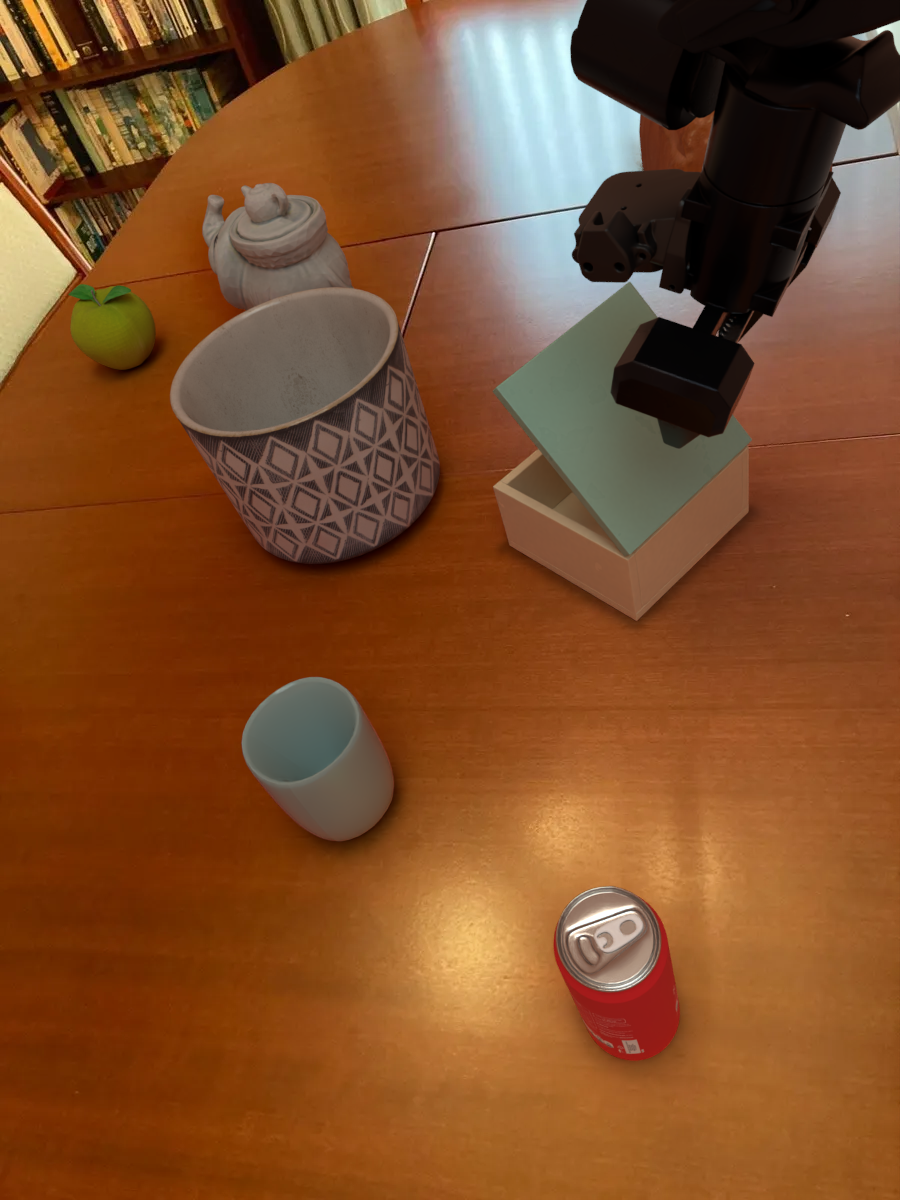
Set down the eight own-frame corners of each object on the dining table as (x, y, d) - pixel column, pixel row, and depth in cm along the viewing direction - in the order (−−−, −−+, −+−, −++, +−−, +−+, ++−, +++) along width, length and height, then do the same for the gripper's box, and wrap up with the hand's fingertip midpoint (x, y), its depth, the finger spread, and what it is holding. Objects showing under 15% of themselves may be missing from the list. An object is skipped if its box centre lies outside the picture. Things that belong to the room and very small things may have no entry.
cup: (341, 880, 58) (283, 810, 50) (279, 808, 63) (218, 735, 55) (429, 799, 60) (385, 721, 53) (362, 735, 65) (314, 655, 57)
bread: (778, 128, 108) (782, -10, 97) (837, 223, 92) (850, 70, 81) (637, 164, 111) (625, 34, 100) (671, 262, 95) (661, 119, 84)
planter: (481, 443, 83) (436, 287, 71) (394, 597, 73) (324, 445, 61) (314, 427, 91) (249, 285, 79) (215, 563, 81) (123, 424, 69)
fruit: (129, 337, 115) (87, 267, 107) (182, 341, 110) (142, 269, 103) (85, 381, 110) (38, 311, 103) (138, 387, 106) (92, 315, 98)
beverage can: (568, 992, 50) (530, 914, 41) (648, 948, 50) (627, 861, 42) (615, 1084, 46) (585, 1019, 38) (700, 1036, 47) (690, 961, 38)
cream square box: (509, 545, 74) (492, 486, 69) (616, 451, 78) (607, 389, 73) (636, 621, 65) (627, 560, 60) (749, 511, 69) (749, 446, 64)
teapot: (247, 321, 110) (176, 171, 96) (362, 283, 109) (306, 126, 95) (248, 395, 99) (168, 238, 85) (376, 354, 97) (316, 188, 84)
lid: (491, 391, 59) (495, 387, 58) (624, 286, 63) (630, 280, 62) (624, 557, 60) (630, 554, 60) (746, 443, 65) (752, 439, 64)
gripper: (678, 24, 47) (639, 260, 61) (523, 240, 40) (518, 453, 54) (887, 73, 44) (796, 310, 58) (761, 317, 37) (691, 521, 51)
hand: (700, 392), depth 55 cm, fingers open, 9 cm apart
